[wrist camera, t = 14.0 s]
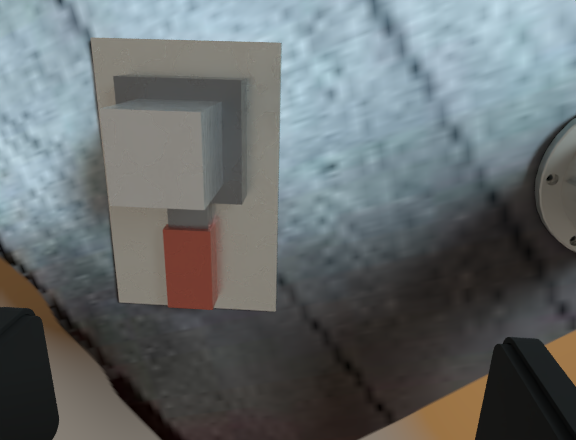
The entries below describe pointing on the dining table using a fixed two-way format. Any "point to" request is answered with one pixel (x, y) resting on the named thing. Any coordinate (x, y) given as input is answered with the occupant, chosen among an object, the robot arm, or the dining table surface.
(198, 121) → the light grey cube
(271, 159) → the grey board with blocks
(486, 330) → the dining table surface
